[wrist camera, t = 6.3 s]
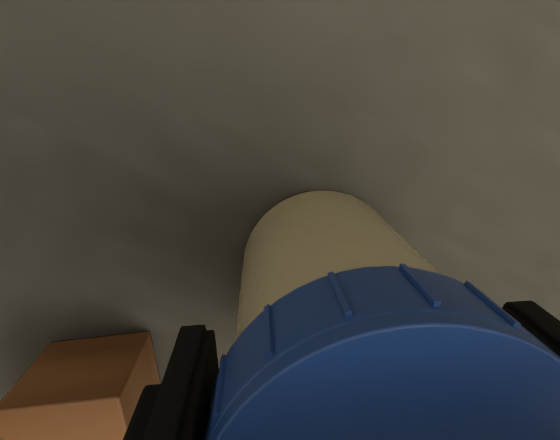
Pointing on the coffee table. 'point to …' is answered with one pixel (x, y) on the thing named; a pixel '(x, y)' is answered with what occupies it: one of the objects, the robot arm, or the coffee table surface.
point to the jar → (315, 247)
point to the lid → (386, 365)
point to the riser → (80, 389)
